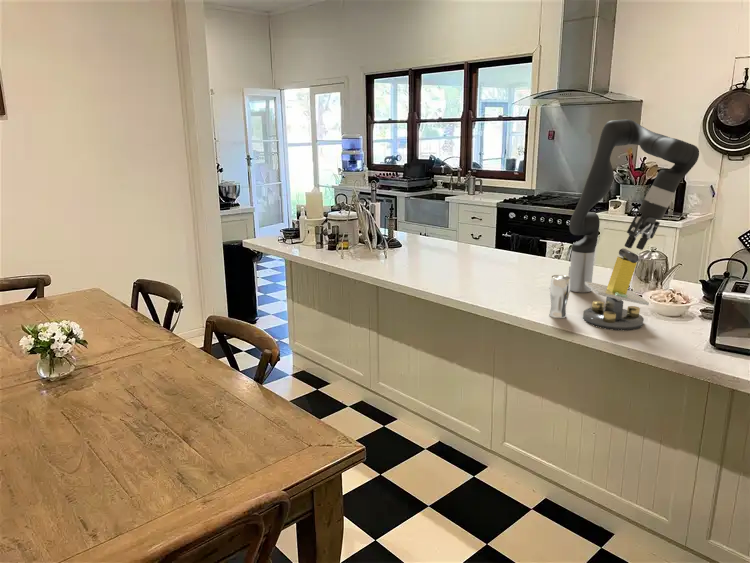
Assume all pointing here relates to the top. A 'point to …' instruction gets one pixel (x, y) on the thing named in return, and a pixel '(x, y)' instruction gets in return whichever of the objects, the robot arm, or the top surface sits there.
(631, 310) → the disc with brass knobs
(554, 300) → the beer glass
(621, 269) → the yellow block with roller
